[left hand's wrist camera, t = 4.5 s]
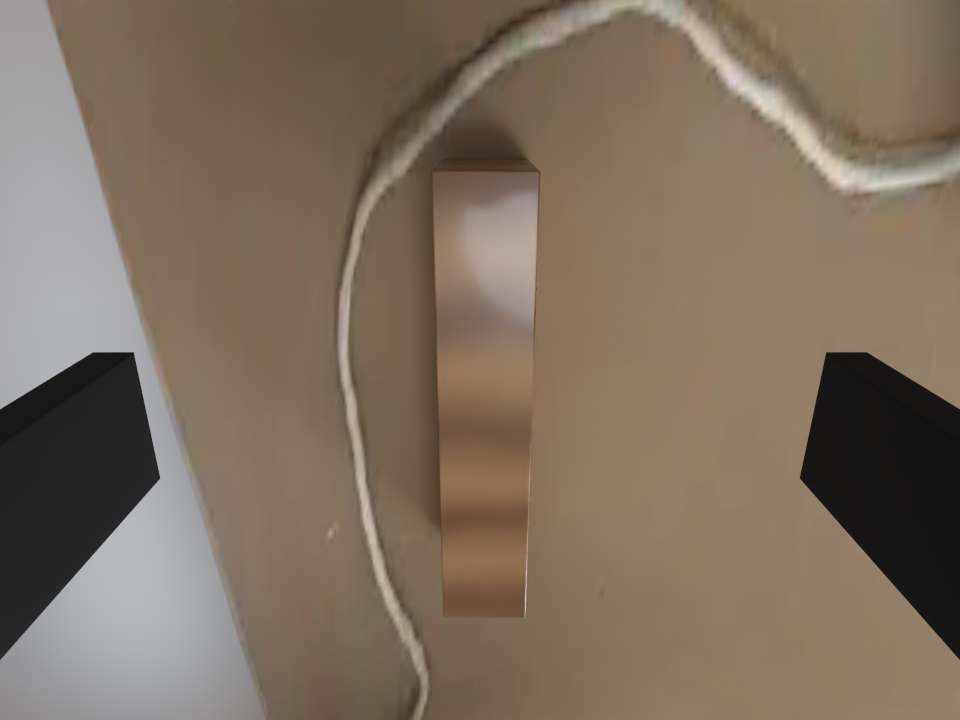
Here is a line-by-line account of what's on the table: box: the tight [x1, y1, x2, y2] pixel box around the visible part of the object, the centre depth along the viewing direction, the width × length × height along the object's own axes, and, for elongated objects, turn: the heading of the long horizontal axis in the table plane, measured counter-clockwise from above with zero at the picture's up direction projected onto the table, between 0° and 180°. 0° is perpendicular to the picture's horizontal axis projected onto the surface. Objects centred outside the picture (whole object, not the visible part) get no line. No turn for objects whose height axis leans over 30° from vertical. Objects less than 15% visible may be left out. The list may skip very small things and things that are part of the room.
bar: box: [432, 160, 540, 617], centre depth 38 cm, size 26×5×8 cm, turn 0°
